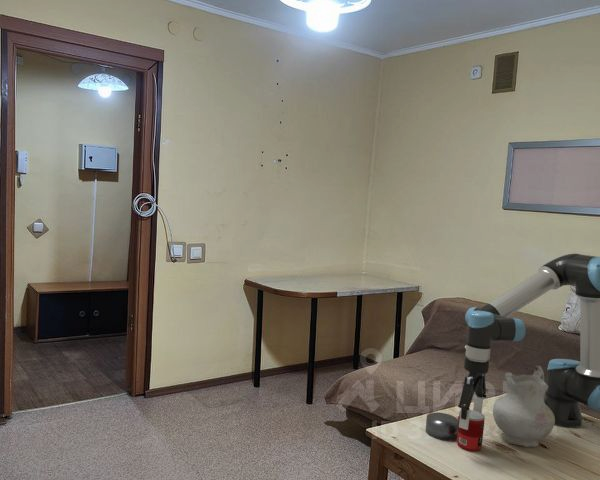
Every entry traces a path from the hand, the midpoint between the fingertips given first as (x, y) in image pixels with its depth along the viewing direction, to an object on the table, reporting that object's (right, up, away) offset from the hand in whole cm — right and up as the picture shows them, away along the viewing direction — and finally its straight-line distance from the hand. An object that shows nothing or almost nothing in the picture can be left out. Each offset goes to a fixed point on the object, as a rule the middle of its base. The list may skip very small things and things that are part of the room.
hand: (470, 421), depth 170 cm
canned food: (0, -9, +1) cm, 9 cm away
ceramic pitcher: (+21, -9, +9) cm, 24 cm away
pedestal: (-7, -7, +9) cm, 14 cm away
